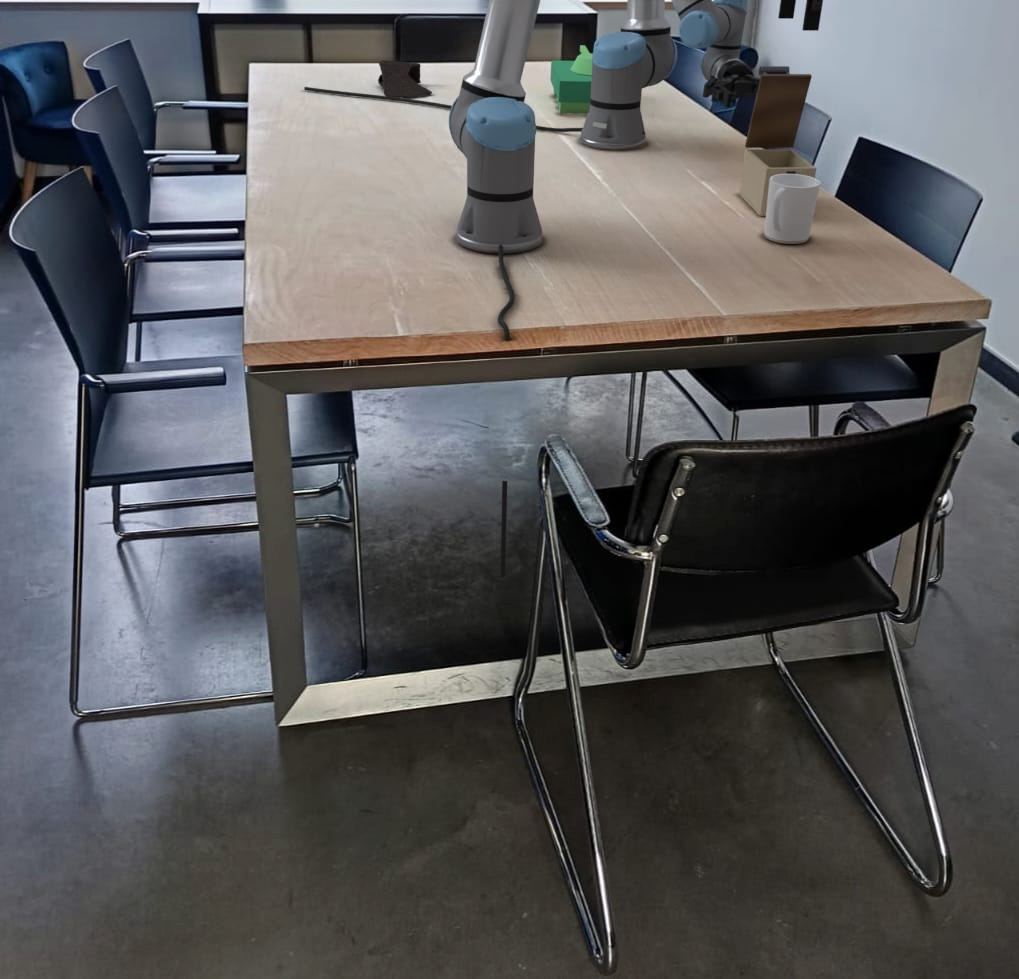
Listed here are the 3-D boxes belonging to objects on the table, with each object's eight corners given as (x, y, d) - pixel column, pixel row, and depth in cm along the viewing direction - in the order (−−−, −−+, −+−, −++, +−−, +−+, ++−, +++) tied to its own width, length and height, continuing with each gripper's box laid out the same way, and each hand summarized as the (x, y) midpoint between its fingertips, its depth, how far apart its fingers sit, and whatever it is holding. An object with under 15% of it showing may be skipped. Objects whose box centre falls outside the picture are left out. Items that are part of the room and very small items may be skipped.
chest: (808, 215, 212) (816, 168, 207) (760, 216, 211) (766, 168, 206) (785, 194, 224) (792, 148, 219) (739, 194, 223) (745, 149, 218)
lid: (811, 76, 208) (800, 56, 213) (762, 76, 207) (751, 56, 212) (793, 147, 219) (782, 126, 224) (745, 148, 218) (736, 127, 223)
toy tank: (613, 42, 302) (631, 66, 272) (610, 88, 309) (627, 117, 279) (549, 40, 301) (560, 65, 272) (547, 87, 308) (558, 116, 278)
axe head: (443, 87, 294) (392, 77, 287) (436, 115, 299) (385, 106, 292) (421, 62, 307) (371, 52, 300) (414, 89, 311) (365, 80, 304)
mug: (775, 225, 205) (784, 170, 200) (819, 236, 201) (829, 180, 195) (747, 240, 198) (754, 183, 193) (791, 251, 193) (801, 193, 188)
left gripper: (865, -103, 180) (842, 35, 191) (813, -111, 201) (795, 13, 212) (821, -103, 179) (800, 35, 190) (773, -112, 200) (757, 13, 211)
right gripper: (783, 96, 244) (816, 121, 227) (675, 93, 242) (699, 118, 224) (790, 61, 240) (823, 83, 223) (679, 57, 237) (704, 80, 220)
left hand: (797, 24), depth 201 cm, fingers open, 13 cm apart
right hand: (761, 101), depth 223 cm, fingers open, 13 cm apart
